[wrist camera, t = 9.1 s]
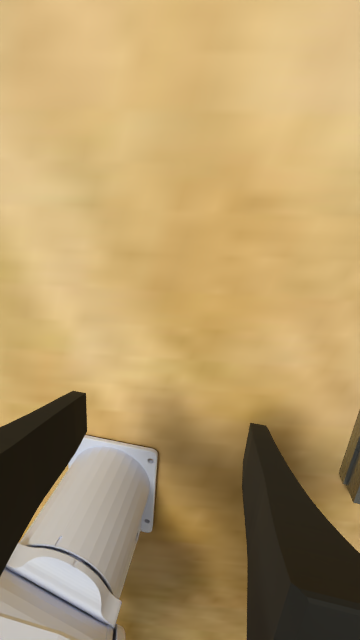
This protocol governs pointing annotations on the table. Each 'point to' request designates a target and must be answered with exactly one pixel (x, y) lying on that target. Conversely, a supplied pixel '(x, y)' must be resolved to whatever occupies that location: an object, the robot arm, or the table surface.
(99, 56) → the table surface
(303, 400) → the table surface
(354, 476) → the rail
